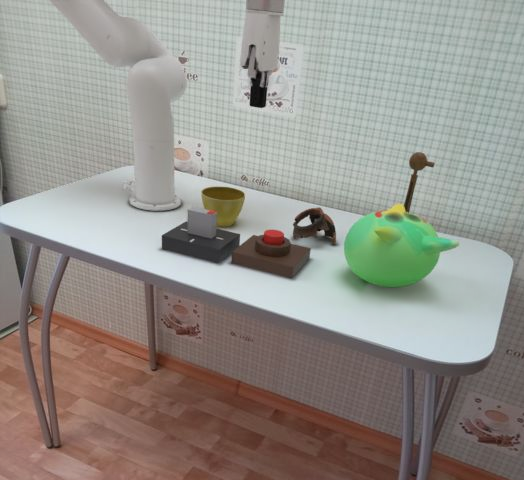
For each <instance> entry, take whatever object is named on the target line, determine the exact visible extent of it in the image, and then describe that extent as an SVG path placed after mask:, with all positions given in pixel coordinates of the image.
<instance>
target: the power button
mask: <svg viewBox="0 0 524 480" xmlns="http://www.w3.org/2000/svg"><path fill="white" fill-rule="evenodd" d="M263 235H264V238H263V242H264V243H266V244H270V245H281V244H283V239H284V237H285V233H284V232H283V231H281V230H278V229H266V230H264V232H263Z"/></svg>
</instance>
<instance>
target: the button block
mask: <svg viewBox="0 0 524 480" xmlns="http://www.w3.org/2000/svg"><path fill="white" fill-rule="evenodd" d="M263 238H264V234H260V235H257V234H252V235H251V236H250V237H249V238H247V239H246V240H244V241H243V242H242V243H240V245H239V247H237V248H236V249H235V250H234V251H232V253H231V258H230V259H231V260H230V261H231V263H230V264H233V265H237V266H240V267H245V268H249V269H253V270H257V271H261V272H264V273H268V274H271V275H276V276H280V277H283V278H287V279H293V278H294V277H295V276H296V275H297V274H298V273H299V271H301V269H302V268H303V267H304V266H305V264H306V263H308V261H309V260H310V256H311V249H312V248H311V247H307V246H304V245H298V244H296V243H295V244H294V243H292V242H291V240H290V239H289V238H287V237H285V236H284V239H283V244H281V245H270V244H266V243H264V242H263Z"/></svg>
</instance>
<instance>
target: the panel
mask: <svg viewBox="0 0 524 480" xmlns="http://www.w3.org/2000/svg"><path fill="white" fill-rule="evenodd" d="M240 245H241V233H238V232H233V231H229V230H224V229H220V228H218V227H216V236H215V237H213V238H212V239H210V238H206V237H202V236H197V235H193V234H189V233H188V220H186V221H184V222H182V223H181V224H178V225H176V226H175V227H174V228H171V229H170V230H168V231H167V232H164V233H163V234H162V235H161V249H162V250H164V251H167V252H173V253H175V254H180V255H183V256H187V257H192V258H195V259H198V260H204V261H206V262H211V263H214V264H221V263H222V262H223V261H224V260H225V259H227V258H228V257H229V256H230V255H232V251H234V250H235V249H236V248H237V247H239V246H240Z"/></svg>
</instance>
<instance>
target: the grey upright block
mask: <svg viewBox="0 0 524 480" xmlns="http://www.w3.org/2000/svg"><path fill="white" fill-rule="evenodd" d="M187 222H188V233H189V234H193V235H197V236H202V237H206V238H210V239H212V238H213V237H215V236H216V228H217V226H216V222H217V212H216V211H214V210H206V209H204V208H201V207H197V206H196V207H195V206H191V207H190V208H188V209H187Z"/></svg>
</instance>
